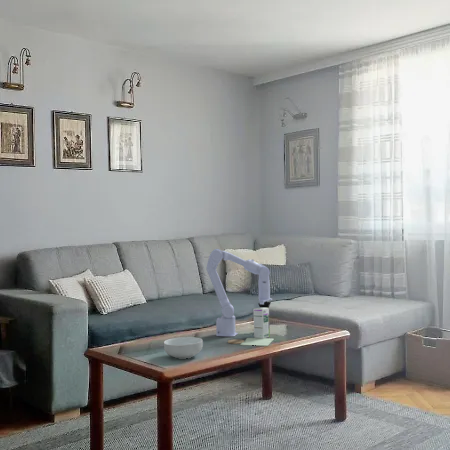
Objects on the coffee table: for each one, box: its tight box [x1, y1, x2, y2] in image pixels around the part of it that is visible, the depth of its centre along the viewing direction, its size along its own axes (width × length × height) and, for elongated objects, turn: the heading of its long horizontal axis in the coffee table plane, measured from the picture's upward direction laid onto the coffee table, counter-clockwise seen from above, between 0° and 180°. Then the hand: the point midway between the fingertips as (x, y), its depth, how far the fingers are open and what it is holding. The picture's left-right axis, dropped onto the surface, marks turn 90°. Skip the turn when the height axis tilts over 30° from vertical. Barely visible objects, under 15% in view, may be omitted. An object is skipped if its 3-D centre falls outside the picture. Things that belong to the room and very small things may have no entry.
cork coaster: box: [227, 338, 245, 345], centre depth 277 cm, size 8×8×1 cm
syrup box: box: [252, 307, 271, 338], centre depth 287 cm, size 6×6×14 cm
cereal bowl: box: [163, 336, 204, 360], centre depth 249 cm, size 17×17×7 cm
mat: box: [239, 337, 275, 347], centre depth 276 cm, size 13×16×1 cm
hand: (264, 316), depth 295 cm, fingers closed
